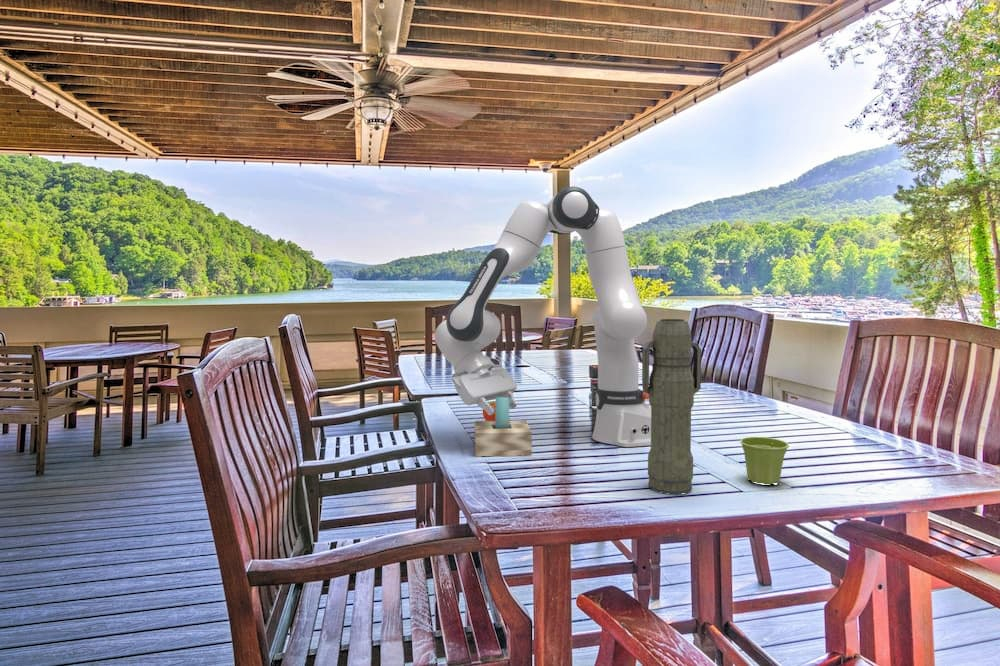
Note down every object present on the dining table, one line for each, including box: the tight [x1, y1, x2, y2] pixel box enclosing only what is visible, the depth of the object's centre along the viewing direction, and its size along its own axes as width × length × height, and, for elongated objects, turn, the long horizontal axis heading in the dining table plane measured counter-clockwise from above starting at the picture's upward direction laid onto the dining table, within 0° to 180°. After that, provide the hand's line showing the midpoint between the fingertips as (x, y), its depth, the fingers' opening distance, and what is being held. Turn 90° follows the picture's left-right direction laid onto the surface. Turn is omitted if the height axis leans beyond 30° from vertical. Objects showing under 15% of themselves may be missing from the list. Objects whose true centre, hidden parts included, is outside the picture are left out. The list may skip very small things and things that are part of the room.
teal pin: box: [495, 397, 510, 429], centre depth 148 cm, size 4×4×12 cm
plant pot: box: [739, 436, 790, 484], centre depth 120 cm, size 9×9×9 cm
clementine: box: [482, 400, 496, 421], centre depth 179 cm, size 8×7×7 cm
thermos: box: [641, 318, 702, 495], centre depth 116 cm, size 9×12×35 cm
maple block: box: [474, 419, 533, 458], centre depth 148 cm, size 14×14×6 cm
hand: (503, 410), depth 147 cm, fingers open, 8 cm apart
